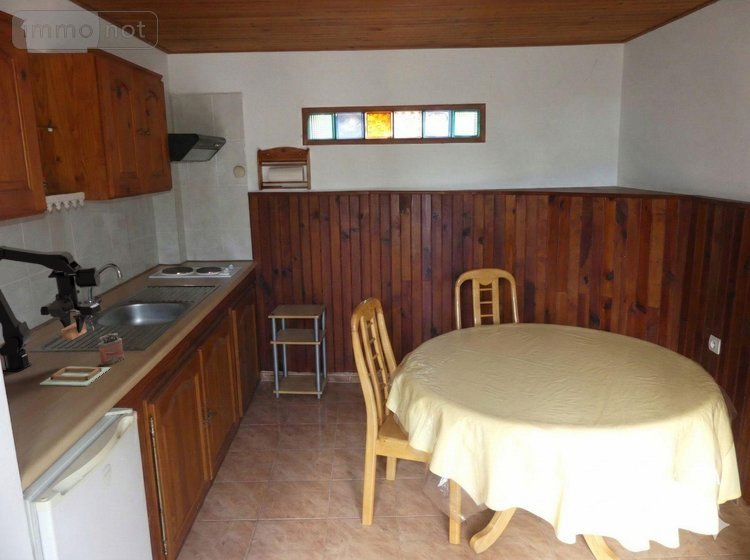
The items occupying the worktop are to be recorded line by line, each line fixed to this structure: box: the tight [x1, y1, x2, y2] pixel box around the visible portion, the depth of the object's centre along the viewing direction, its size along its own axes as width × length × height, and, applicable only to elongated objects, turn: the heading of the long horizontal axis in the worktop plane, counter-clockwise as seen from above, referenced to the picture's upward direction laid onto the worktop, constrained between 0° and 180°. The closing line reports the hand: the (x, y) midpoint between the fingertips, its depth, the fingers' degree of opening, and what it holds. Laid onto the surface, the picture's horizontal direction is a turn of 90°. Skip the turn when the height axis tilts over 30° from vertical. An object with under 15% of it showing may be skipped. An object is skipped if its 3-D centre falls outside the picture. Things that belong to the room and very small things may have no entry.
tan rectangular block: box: [60, 321, 88, 341], centre depth 200 cm, size 4×8×4 cm, turn 173°
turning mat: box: [39, 366, 112, 387], centre depth 190 cm, size 16×14×2 cm
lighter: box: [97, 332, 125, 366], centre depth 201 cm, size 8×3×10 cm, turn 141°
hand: (74, 332), depth 200 cm, fingers closed on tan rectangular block, 3 cm apart
